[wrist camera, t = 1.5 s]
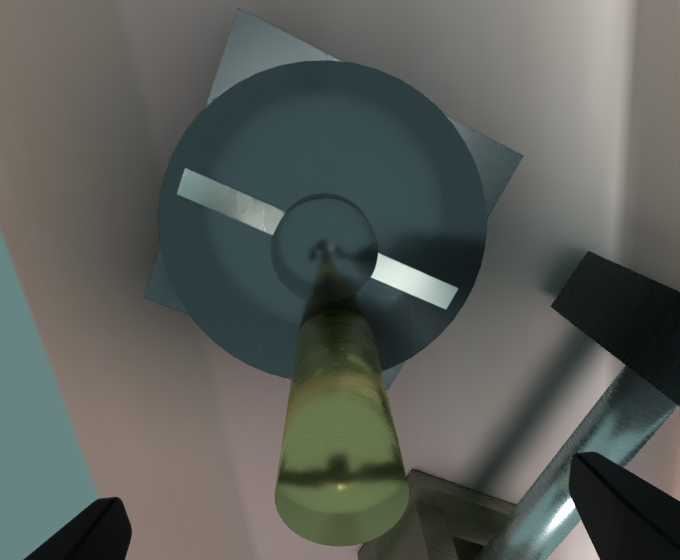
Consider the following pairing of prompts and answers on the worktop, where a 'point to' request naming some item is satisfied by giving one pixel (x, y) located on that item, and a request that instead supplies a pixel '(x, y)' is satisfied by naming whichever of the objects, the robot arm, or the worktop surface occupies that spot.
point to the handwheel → (325, 265)
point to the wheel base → (282, 48)
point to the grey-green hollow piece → (439, 523)
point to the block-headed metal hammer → (613, 406)
